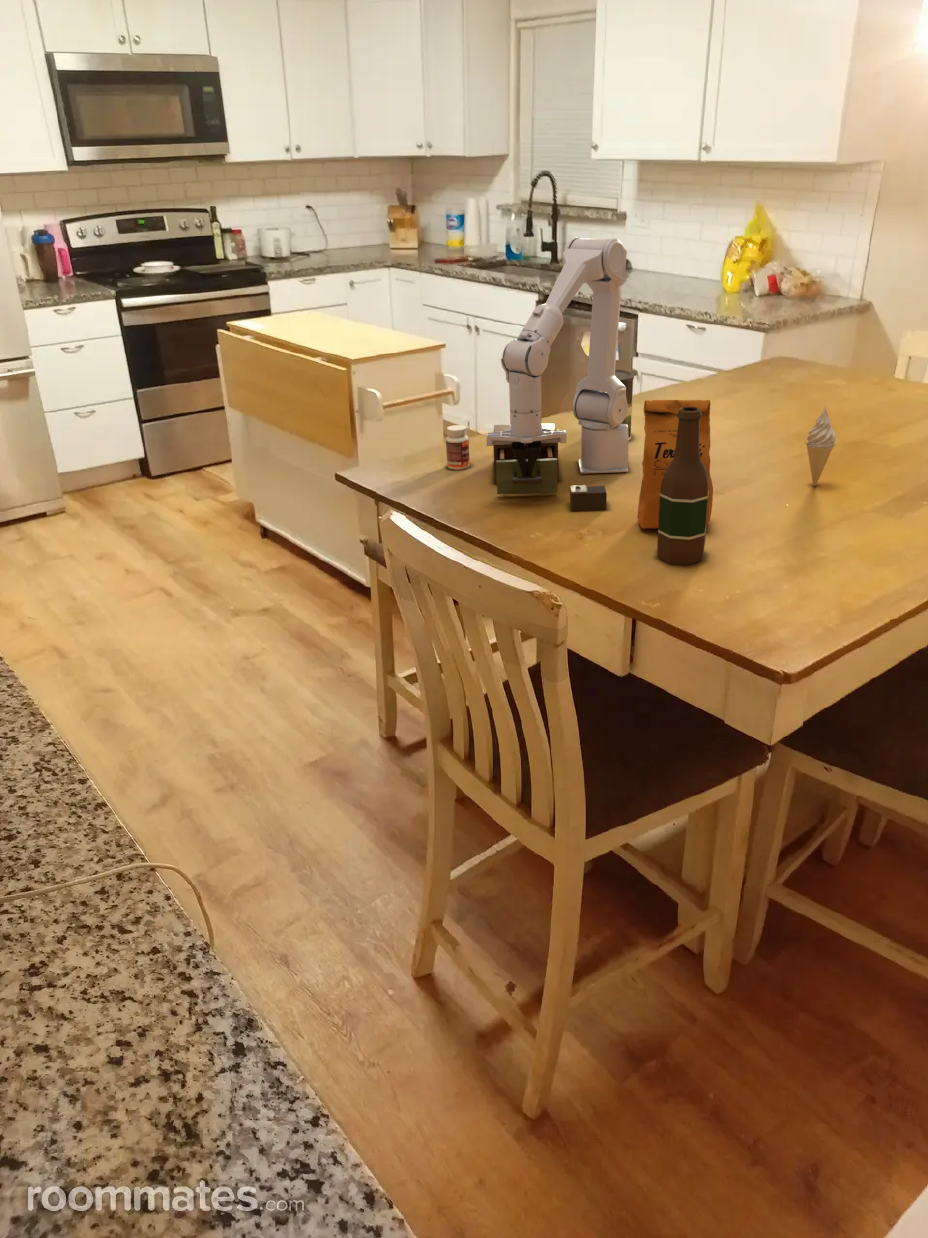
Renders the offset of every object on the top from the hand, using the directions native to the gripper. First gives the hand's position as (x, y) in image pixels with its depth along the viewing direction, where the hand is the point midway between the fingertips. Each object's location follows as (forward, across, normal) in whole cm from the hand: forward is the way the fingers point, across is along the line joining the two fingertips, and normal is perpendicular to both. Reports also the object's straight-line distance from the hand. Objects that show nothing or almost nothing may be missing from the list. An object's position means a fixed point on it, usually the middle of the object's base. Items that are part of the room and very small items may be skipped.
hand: (527, 480), depth 171 cm
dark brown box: (+4, +11, -4) cm, 12 cm away
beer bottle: (+4, +24, -27) cm, 36 cm away
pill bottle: (+4, -14, +22) cm, 26 cm away
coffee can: (+4, +19, +38) cm, 43 cm away
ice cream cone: (+4, +54, +3) cm, 54 cm away
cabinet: (+4, 0, +17) cm, 17 cm away
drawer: (+3, 0, +6) cm, 7 cm away
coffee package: (+4, +25, -14) cm, 29 cm away
